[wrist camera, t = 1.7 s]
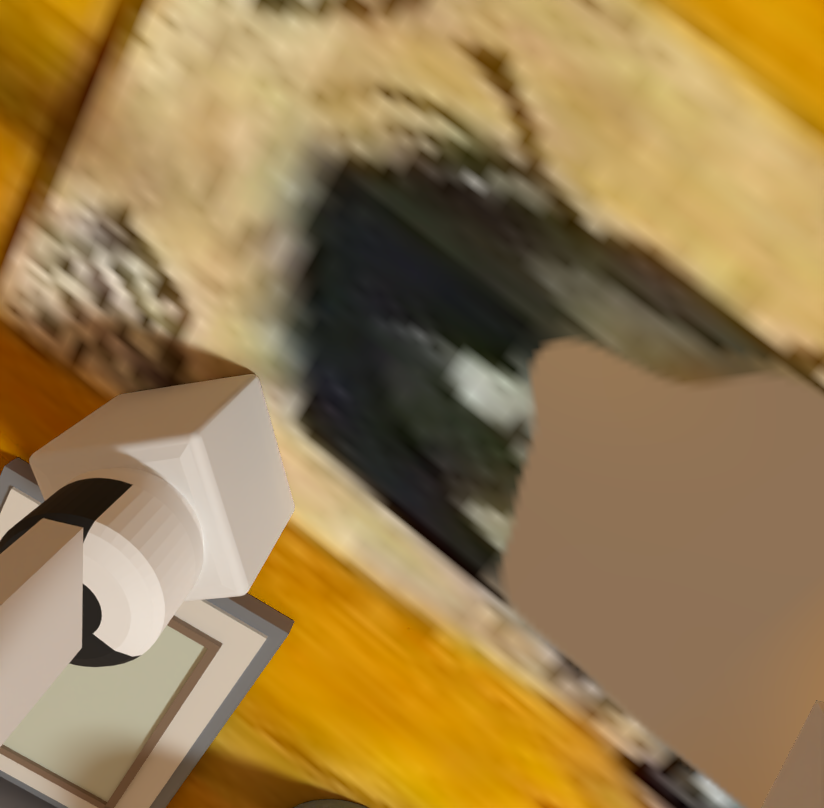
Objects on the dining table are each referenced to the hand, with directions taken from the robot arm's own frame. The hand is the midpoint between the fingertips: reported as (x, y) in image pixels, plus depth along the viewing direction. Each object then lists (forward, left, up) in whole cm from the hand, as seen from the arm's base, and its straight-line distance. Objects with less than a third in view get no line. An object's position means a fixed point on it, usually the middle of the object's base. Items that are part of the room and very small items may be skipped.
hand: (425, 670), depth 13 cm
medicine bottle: (-8, -11, -20) cm, 24 cm away
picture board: (-8, -27, -20) cm, 34 cm away
